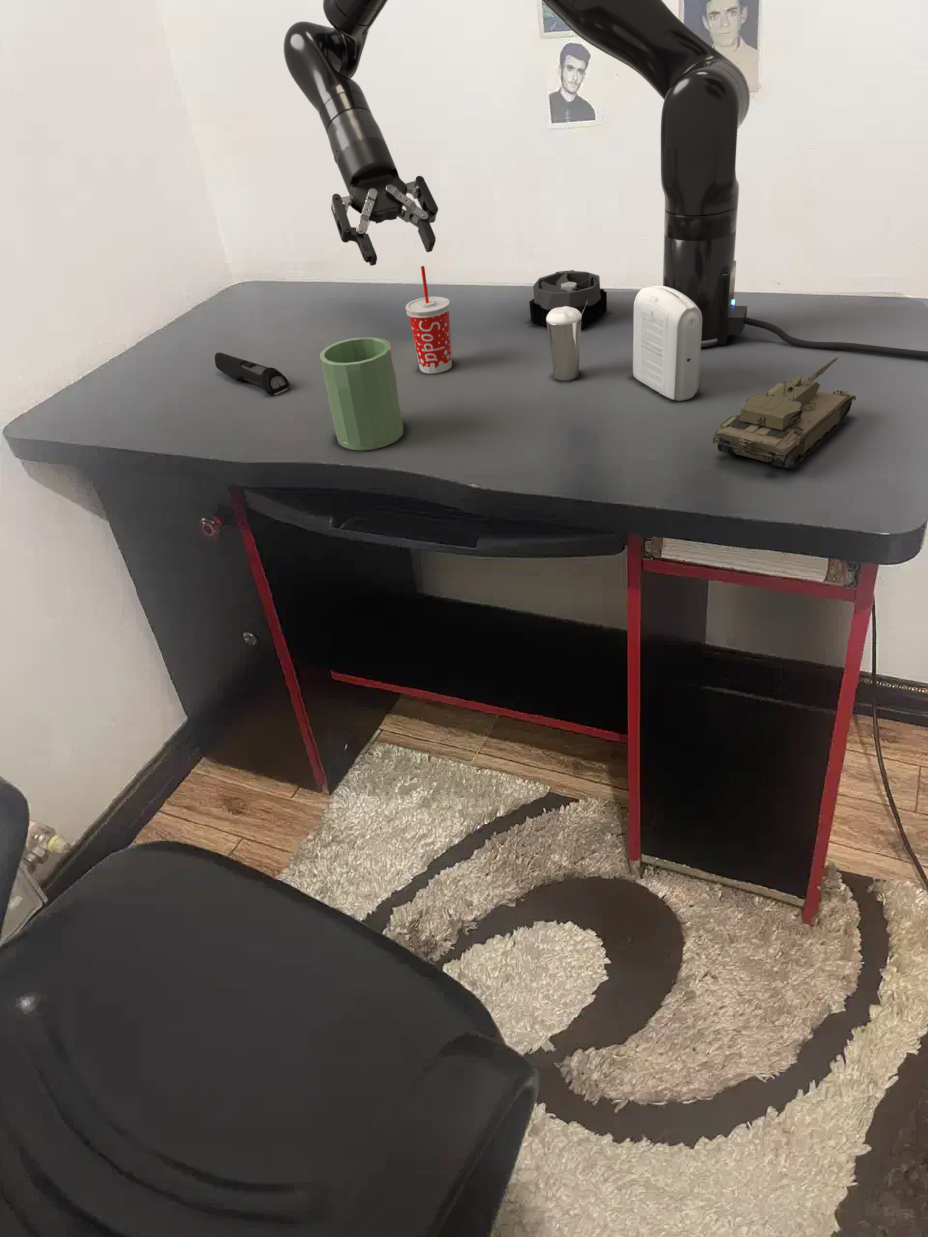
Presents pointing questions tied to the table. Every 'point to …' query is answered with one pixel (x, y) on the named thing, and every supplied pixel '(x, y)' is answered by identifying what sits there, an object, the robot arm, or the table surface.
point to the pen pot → (362, 393)
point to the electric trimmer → (252, 373)
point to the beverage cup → (431, 331)
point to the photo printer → (667, 342)
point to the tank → (784, 422)
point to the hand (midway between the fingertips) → (402, 255)
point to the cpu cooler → (568, 296)
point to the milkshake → (564, 341)
